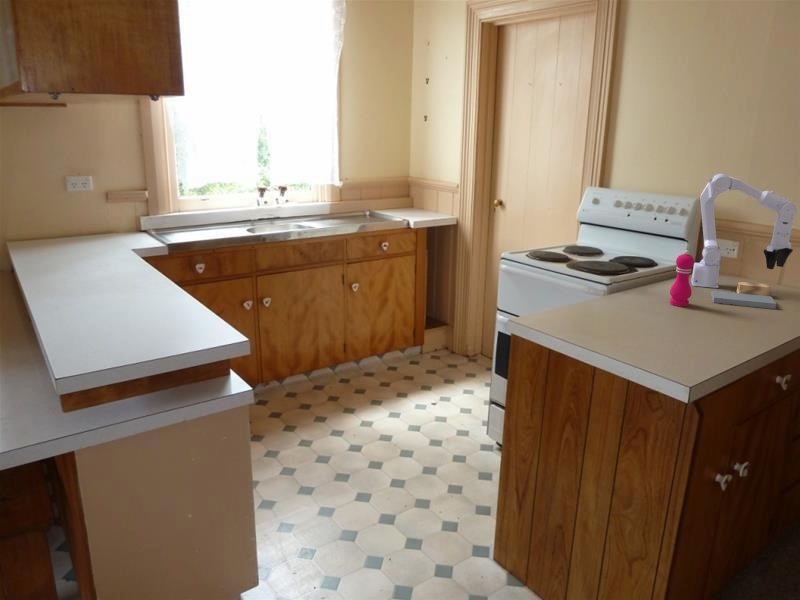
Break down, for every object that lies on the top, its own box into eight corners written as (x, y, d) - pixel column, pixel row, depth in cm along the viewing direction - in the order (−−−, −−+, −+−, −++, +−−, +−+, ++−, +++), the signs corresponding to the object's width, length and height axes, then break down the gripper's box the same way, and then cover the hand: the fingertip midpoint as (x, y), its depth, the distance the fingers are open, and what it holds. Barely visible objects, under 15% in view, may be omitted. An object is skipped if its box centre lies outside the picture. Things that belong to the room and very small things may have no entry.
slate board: (713, 302, 230) (714, 297, 229) (710, 295, 239) (711, 290, 238) (775, 309, 223) (776, 303, 223) (770, 301, 232) (771, 296, 232)
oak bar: (738, 296, 240) (740, 284, 239) (736, 292, 245) (738, 281, 243) (767, 298, 237) (770, 287, 236) (765, 295, 241) (767, 284, 240)
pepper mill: (668, 305, 226) (675, 251, 220) (668, 300, 232) (675, 247, 226) (690, 308, 223) (698, 253, 217) (689, 302, 229) (697, 249, 224)
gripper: (783, 236, 232) (776, 272, 236) (802, 233, 240) (794, 267, 244) (763, 233, 238) (757, 268, 242) (782, 230, 246) (776, 263, 250)
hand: (774, 267), depth 243 cm, fingers open, 7 cm apart
